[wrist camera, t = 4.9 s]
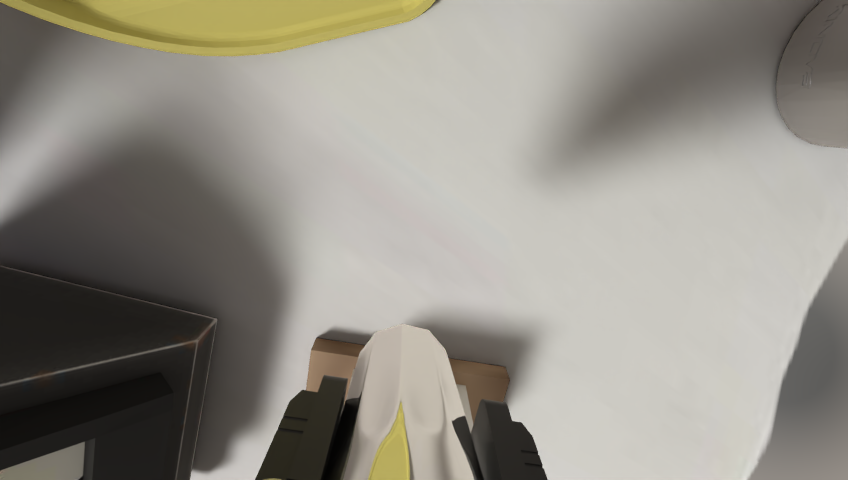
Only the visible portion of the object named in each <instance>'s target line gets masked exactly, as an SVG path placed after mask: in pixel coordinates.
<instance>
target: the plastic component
mask: <svg viewBox="0 0 848 480" xmlns="http://www.w3.org/2000/svg"><path fill="white" fill-rule="evenodd" d="M0 2H1V3H3V4H5V5H8V6H10V7H12V8H15V9H17V10H20V11H23V12H25V13H28V14H30V15H33V16H35V17H38V18H41V19H43V20H46V21H48V22H51V23H54V24H58V25H61V26H64V27H67V28H70V29H73V30H76V31H79V32H82V33H86V34H89V35H93V36H97V37H100V38H104V39H108V40H111V41H115V42H120V43H124V44H129V45H133V46H138V47H142V48H148V49H154V50H160V51H165V52H171V53H181V54H191V55H201V56H244V55H257V54H266V53H274V52H281V51H285V50H289V49H293V48H298V47H302V46H306V45H310V44H314V43H319V42H323V41H327V40H331V39H336V38H340V37H344V36H348V35H352V34H357V33H361V32H365V31H369V30H374V29H378V28H382V27H386V26H390V25H395V24H399V23H403V22H407V21H410V20H412V19H414V18H416V17H418V16H419V15H421V14H422V13H423V12H425V11H426V10H427V9H428V8H430V7H431V5H432V4H433V3H434V2H435V0H0Z"/></svg>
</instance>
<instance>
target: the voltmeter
mask: <svg viewBox="0 0 848 480" xmlns="http://www.w3.org/2000/svg"><path fill="white" fill-rule="evenodd" d="M216 324H217V319H216V318H212V317H208V316H204V315H200V314H195V313H191V312H187V311H183V310H179V309H175V308H171V307H167V306H163V305H159V304H155V303H151V302H147V301H143V300H138V299H134V298H130V297H126V296H122V295H118V294H114V293H110V292H106V291H102V290H98V289H94V288H90V287H85V286H81V285H77V284H73V283H69V282H65V281H61V280H57V279H53V278H49V277H45V276H41V275H37V274H33V273H28V272H24V271H20V270H16V269H12V268H8V267H4V266H0V480H190V476H191V470H192V465H193V459H194V453H195V447H196V442H197V436H198V430H199V424H200V419H201V413H202V407H203V401H204V395H205V389H206V383H207V377H208V372H209V366H210V360H211V354H212V348H213V342H214V336H215V330H216Z"/></svg>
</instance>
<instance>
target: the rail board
mask: <svg viewBox="0 0 848 480" xmlns="http://www.w3.org/2000/svg"><path fill="white" fill-rule="evenodd" d="M364 347H365V345H359V344H353V343H346V342H340V341H333V340H327V339H320V338H316V340H315V342H314V345H313V347H312V349H311V356H310V363H309V371H308V379H307V387H306V391H313V392H318V389H319V387H320V384H321V381H322V378H323V376H324V375H328V376H335V377H342V378H348V382H347V388H346V395H345V401H346V397H347V394H348V390H349V386H350V381H351V377H352V372H353V369H355V367H356V364H357V360H358V357H359V354H360V352H361V350H362V349H363V348H364ZM448 359H449V362H450V365H451V369H452V372H453V376H454V379H455V382H456V384H459V385H465V386H466V390H467V395H468V400H469V405H470V410H471V415H472V421H473V424H474V420H475V417H476V413H477V410H478V406H479V403H480V401H481V400H482V399H486V400H492V401H499V402H503V400H504V397H505V394H506V391H507V388H508V385H509V381H510V379H509V376H508V373H507V370H506V368H505V367H502V366H496V365H489V364H483V363H476V362H470V361H463V360H457V359H450V358H448ZM345 401H344V404H345Z"/></svg>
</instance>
